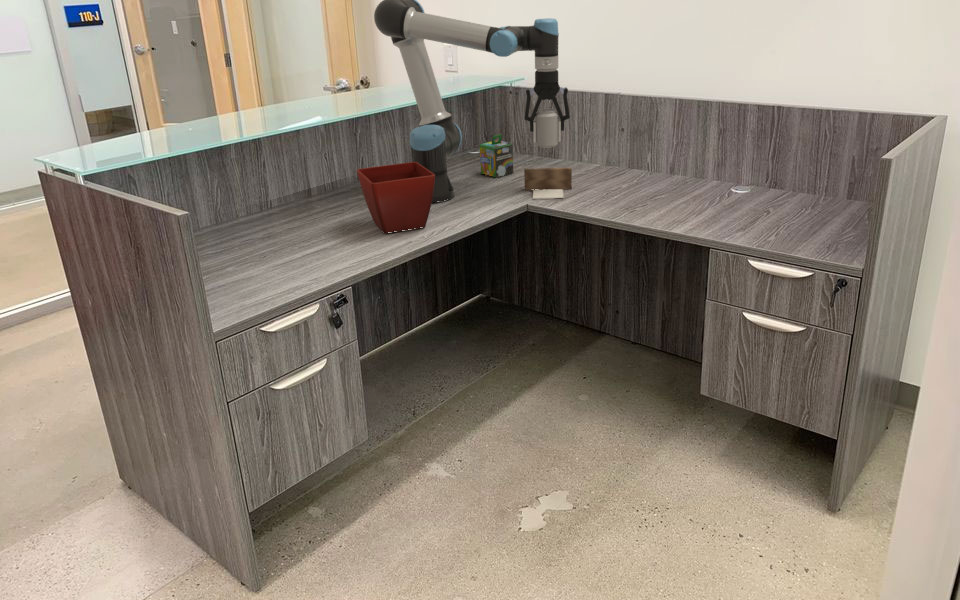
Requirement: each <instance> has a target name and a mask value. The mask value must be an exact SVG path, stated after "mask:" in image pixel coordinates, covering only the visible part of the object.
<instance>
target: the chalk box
mask: <svg viewBox="0 0 960 600" xmlns="http://www.w3.org/2000/svg"><path fill="white" fill-rule="evenodd" d="M497 138H498V139H497ZM502 138H503V134H502V133H500V134H496V135H493V136H492V139H491V141H488V142H485V143H481V144H479V159H480V175H482V174H485V175H484V176H487V175H489V176H488V177H490V176H493V177H492V178H494V177H498V178H500V176H501V177H505V176H504V175H506V176H508V175H507V174H510V175H512V173H513V174H514V145H513V144H514V143H512V142H509V141H502Z"/></svg>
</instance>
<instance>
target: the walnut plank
mask: <svg viewBox="0 0 960 600" xmlns="http://www.w3.org/2000/svg"><path fill="white" fill-rule="evenodd" d="M523 171H524V172H523V174H524V176H523V177H524V191H532V190H531V189H534V190H535V189H539V190H543V189H546V190H547V189H563V190H572V188H573V187H572V186H573V184H572V182H573V181H572V177H573V176H572V172H573V171H572V167H543V168H542V167H541V168H524V169H523ZM526 189H527V190H526Z"/></svg>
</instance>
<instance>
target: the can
mask: <svg viewBox="0 0 960 600" xmlns="http://www.w3.org/2000/svg"><path fill="white" fill-rule="evenodd" d="M558 120H559V115H558V112H557V110H556V108H550V107H549V108H540V109H539V108H538V111H537V113H536V116H535V121H536V142H535V144H536V145H537V147H539V148H542V149H543V148H544V149H549V148H554V147H557V145H558V144H559V141H558Z"/></svg>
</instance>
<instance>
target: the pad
mask: <svg viewBox="0 0 960 600" xmlns="http://www.w3.org/2000/svg"><path fill="white" fill-rule="evenodd" d="M532 191H533V193H532V200H533V199H548V200H554V199H553V198H563V199H564V189H552V190H532Z"/></svg>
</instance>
